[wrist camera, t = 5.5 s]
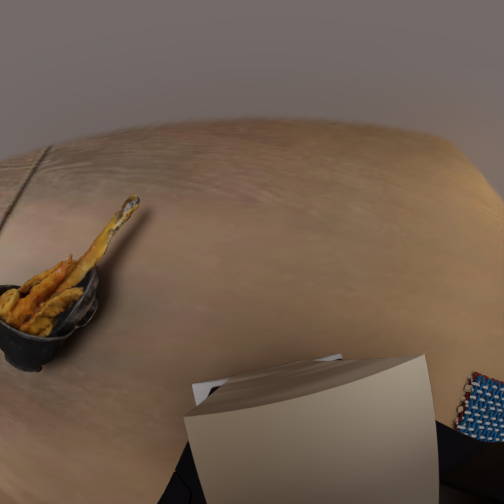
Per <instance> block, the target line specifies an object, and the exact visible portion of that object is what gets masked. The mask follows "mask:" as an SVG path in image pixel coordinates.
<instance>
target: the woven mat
mask: <svg viewBox="0 0 504 504" xmlns="http://www.w3.org/2000/svg"><path fill="white" fill-rule="evenodd" d="M467 379H468V380H470V381H471V383H470V384H469V385H467V384H466V386H465V389H464V391H466V397H465V396H461V398H460V401H462V402H464V406H460V407H458V412H459V413H461V415H460V417H455V420H454V423H456V427H455V428H452V429H455V430H457V431H459V432H461V433H464V434H466V435H468V436H471V437H473V438H475V439H478V440H481V441H482V439H483V441H486V442H497V441H498V442H503V441H504V382H501V381H499V380H495V382H494V378H492V379H491V380H490V379H489V378H488V377H487V376H485V375H483V376H482V377H481V374H480V373H479V374H478V372H475V373H474V376H473V375H467ZM498 381H499V383H498ZM470 393H471V395H470ZM498 393H499V395H498ZM484 399H485V400H484ZM476 406H478V407H476ZM493 411H494V412H493ZM499 412H501V413H499ZM469 415H470V416H469ZM478 417H479V418H478ZM473 418H474V419H473ZM486 419H487V420H486ZM497 422H498V423H497ZM464 426H466V427H464ZM489 430H491V431H489Z"/></svg>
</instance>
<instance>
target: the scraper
mask: <svg viewBox="0 0 504 504" xmlns="http://www.w3.org/2000/svg"><path fill="white" fill-rule="evenodd" d="M336 359H342V355H341V353H340V354H332V355H329V356H325V357H321V358H318V359H314V360H310V361H296V362H292V363H288V364H283V365H279V366H274V367H270V368H265V369H260V370H255V371H250V372H244V373H239V374H234V375H233V376H232V377H230V378H224V379H217V380H211V381H204V382H197V383H194V384H192V387H193V392H194V397H195V402H196V407H195V408H194V409H193V410H191V411H190V412H189V413H188V414H186V415H185V416H184V417H183V418H184V423H185V427H186V431H187V435H188V439H189V443H190V447H191V451H192V455H193V459H194V462H195V466H196V469H197V473H198V476H199V480H200V483H201V486H202V489H203V493H204V496H205V499H206V502H207V504H439V464H438V446H437V434H436V423H435V415H434V407H433V400H432V393H431V387H430V381H429V375H428V370H427V364H426V359H425V355H424V354H422V355H413V356H403V357H392V358H378V359H362V360H336ZM332 360H335V361H332ZM215 386H220V387H219V388H218V389H217V390H216V391H215V392H213V393H212V394H211V395H210V396H209V397H207V396H208V394H209V392H210V390H211V388H212V387H215Z"/></svg>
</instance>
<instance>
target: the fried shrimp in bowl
mask: <svg viewBox="0 0 504 504" xmlns="http://www.w3.org/2000/svg"><path fill="white" fill-rule="evenodd" d="M139 202H140V199H139V198H138V196H137V195H135V194H133V195H131V196H130V197H129V198H128V199H127V200H126V201H125V202H124V204H123V206H122V210H121V211H118V212H116V213H115V216H114V217H113V218H112V219H111V221H110V222H109V224H108V225H107V226H106V227H105V228H104V229H103V231H102V232H101V233H100V234H99V236H98V237H97V238H96V239H95V240H94V242H93V244H92V245H91V246H90V248H89V250H88V251H87V252H86V253H85V254H84V255H83V256H82V257H81V258H80V259H79V260H72V254H70V256H69V257H68V258H67V259H66V260H65V261H62V262H59V263H58V264H57V265H56V266H55V267H54V268H52V269H50V270H47V271H45V272H43V273H41V274H40V275H37V276H34V277H33V278H32V279H30V280H28V281H27V282H26V283H25V284H24V285H23V286H16V285H0V349H1V350H2V351H3V352H4V353H5V359H6V361H7V362H8V363H10V364H11V365H12V366H13V367H15V368H17V369H18V370H20V371H24V372H39V371H41V369H42V365H44V364H46V363H48V362H50V361H51V360H52V359H53V358H54V357H55V356H56V355H57V354H58V352H59V351H60V350H61V348H62V346H63V344H64V342H65V339H66V338H67V337H69V336H70V335H71V334H72V333H73V331H74V330H76V329H78V328H79V327H83V326H85V325H86V324H87V323H88V322H89V321H90V320H91V318H92V317H93V315H94V313H95V312H96V309H97V306H98V300H97V299H96V298H95V295H96V290H97V288H98V276H97V266H96V263H97V262H98V261H99V260H100V259H101V258H102V257H103V255H104V254H105V252H106V250H107V247H108V245H109V243H110V241H111V238H112V237H113V236H114V235H115V234H116V232H117V231H118V230H119V229H120V228H121V226H122V225H123V224H124V223H125V222H126V221H127V220H128V219H129V218H130V217H131V214H132V213H133V212H134V211H135V210H136V209H137V208H138V206H139Z"/></svg>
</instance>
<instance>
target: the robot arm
mask: <svg viewBox="0 0 504 504" xmlns="http://www.w3.org/2000/svg"><path fill="white" fill-rule="evenodd" d="M336 360H343V359H336ZM332 361H335V360H332ZM219 387H220V386H215V387H212V388H211V390H210V392H209V394H208V396H207V397H209V396H210V395H211V394H212V393H213V392H215V391H216V390H217V389H218V388H219ZM435 423H436V434H437V446H438V464H439V504H504V441H503V442H486V441H481V440H478V439H475V438H473V437H471V436H468V435H466V434H464V433H461V432H459V431H457V430H455V429H452V428H450V427H448V426H446V425H444V424H442V423H440V422H438V421H436V420H435ZM175 471H176V472H174V473H173V475H172V477H171V479H170V481H169V483H168V485H167V487H166V489H165V491H164V493H163V495H162V496H161V498H160V500H159V501H158V503H157V504H207V502H206V499H205V496H204V493H203V489H202V486H201V483H200V480H199V476H198V473H197V469H196V466H195V462H194V459H193V455H192V451H191V447H190V443H189V440H188V442H187V444H186V446H185V448H184V451H183V453H182V455H181V457H180V460H179V462H178V464H177V466H176V468H175Z"/></svg>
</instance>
